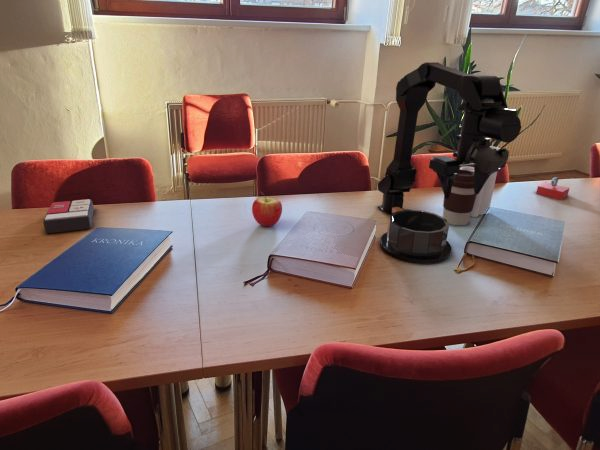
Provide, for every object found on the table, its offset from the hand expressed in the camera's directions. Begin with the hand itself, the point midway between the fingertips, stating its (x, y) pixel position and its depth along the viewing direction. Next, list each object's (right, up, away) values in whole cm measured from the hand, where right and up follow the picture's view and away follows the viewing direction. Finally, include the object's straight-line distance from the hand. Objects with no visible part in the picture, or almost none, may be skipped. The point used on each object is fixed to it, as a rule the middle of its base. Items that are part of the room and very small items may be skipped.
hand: (461, 196), depth 109 cm
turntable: (-10, -13, +6) cm, 17 cm away
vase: (+14, -3, +30) cm, 33 cm away
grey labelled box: (-104, -6, +16) cm, 106 cm away
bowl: (-11, -11, +7) cm, 17 cm away
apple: (-49, -7, +17) cm, 53 cm away
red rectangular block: (+49, +3, +46) cm, 67 cm away
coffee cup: (+6, -6, +23) cm, 24 cm away
